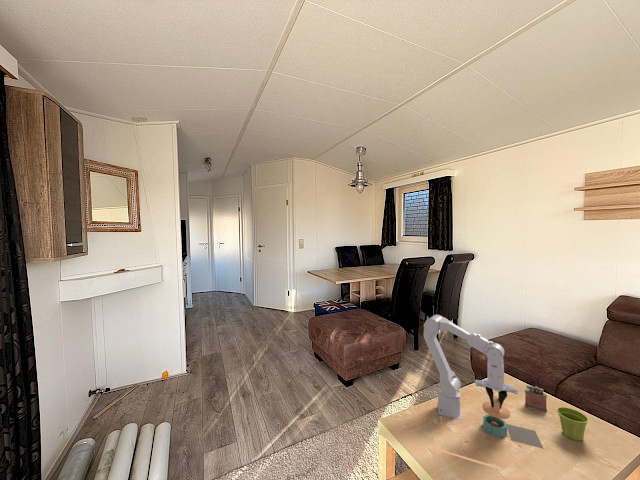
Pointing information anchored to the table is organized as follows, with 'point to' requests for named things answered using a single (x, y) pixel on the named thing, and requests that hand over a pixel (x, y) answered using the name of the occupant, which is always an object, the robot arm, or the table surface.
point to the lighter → (535, 398)
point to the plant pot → (572, 423)
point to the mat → (524, 436)
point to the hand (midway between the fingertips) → (495, 406)
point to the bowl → (494, 430)
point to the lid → (496, 409)
